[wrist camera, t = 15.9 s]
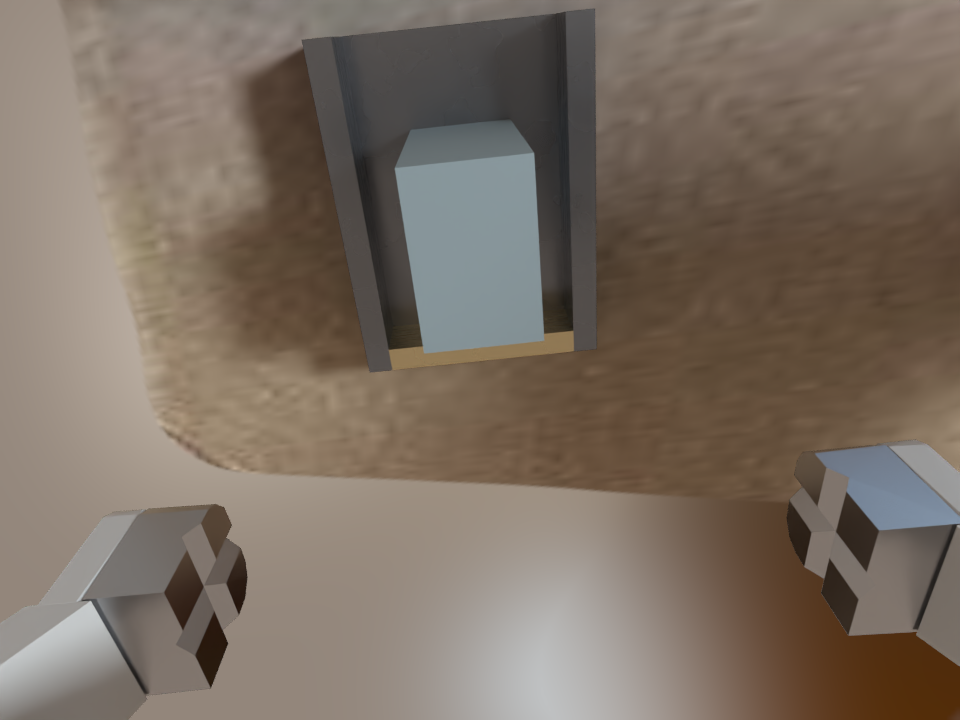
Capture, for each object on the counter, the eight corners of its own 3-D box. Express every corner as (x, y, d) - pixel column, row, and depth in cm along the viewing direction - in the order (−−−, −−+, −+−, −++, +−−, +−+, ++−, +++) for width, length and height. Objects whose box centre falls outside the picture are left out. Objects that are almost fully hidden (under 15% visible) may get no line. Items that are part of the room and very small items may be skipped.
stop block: (509, 119, 25) (534, 152, 17) (520, 261, 27) (544, 340, 20) (410, 129, 25) (394, 167, 17) (430, 271, 27) (424, 353, 20)
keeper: (578, 11, 23) (595, 8, 21) (583, 320, 29) (596, 348, 27) (318, 39, 23) (301, 39, 21) (377, 342, 30) (369, 372, 27)
